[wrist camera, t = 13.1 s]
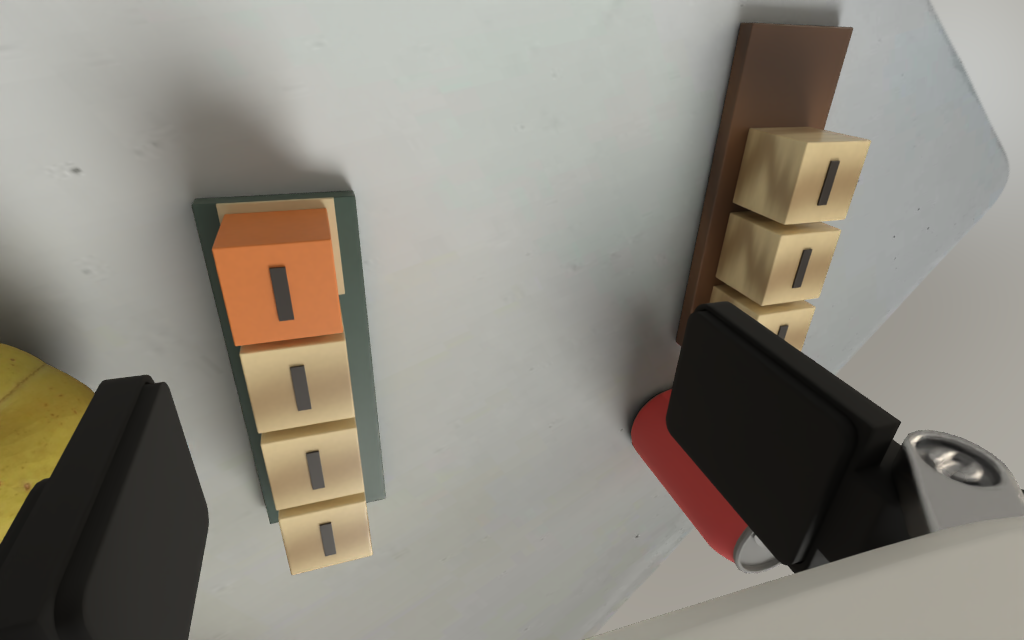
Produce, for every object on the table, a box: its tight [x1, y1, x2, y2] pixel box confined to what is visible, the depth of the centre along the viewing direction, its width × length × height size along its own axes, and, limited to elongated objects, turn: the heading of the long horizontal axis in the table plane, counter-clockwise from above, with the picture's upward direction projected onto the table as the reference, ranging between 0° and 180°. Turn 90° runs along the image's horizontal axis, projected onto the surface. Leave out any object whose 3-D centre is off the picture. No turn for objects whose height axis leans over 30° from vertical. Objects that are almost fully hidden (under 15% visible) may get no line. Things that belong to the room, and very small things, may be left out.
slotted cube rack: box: [192, 191, 386, 575], centre depth 29 cm, size 20×7×6 cm, turn 178°
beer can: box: [631, 389, 781, 573], centre depth 38 cm, size 7×7×12 cm
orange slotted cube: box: [212, 208, 343, 346], centre depth 24 cm, size 4×4×4 cm
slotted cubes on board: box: [676, 23, 871, 351], centre depth 33 cm, size 20×7×6 cm, turn 178°
